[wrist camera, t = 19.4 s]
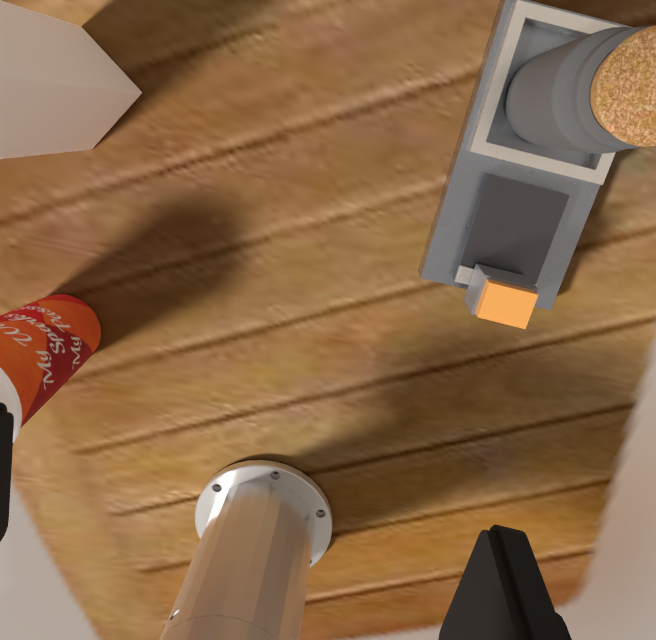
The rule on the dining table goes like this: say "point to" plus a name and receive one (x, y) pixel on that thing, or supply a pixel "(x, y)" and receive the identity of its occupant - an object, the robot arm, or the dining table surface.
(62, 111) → the milk
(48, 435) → the dining table surface
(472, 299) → the toggle
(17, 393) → the coffee cup
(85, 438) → the dining table surface
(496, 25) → the panel
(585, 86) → the bottle
